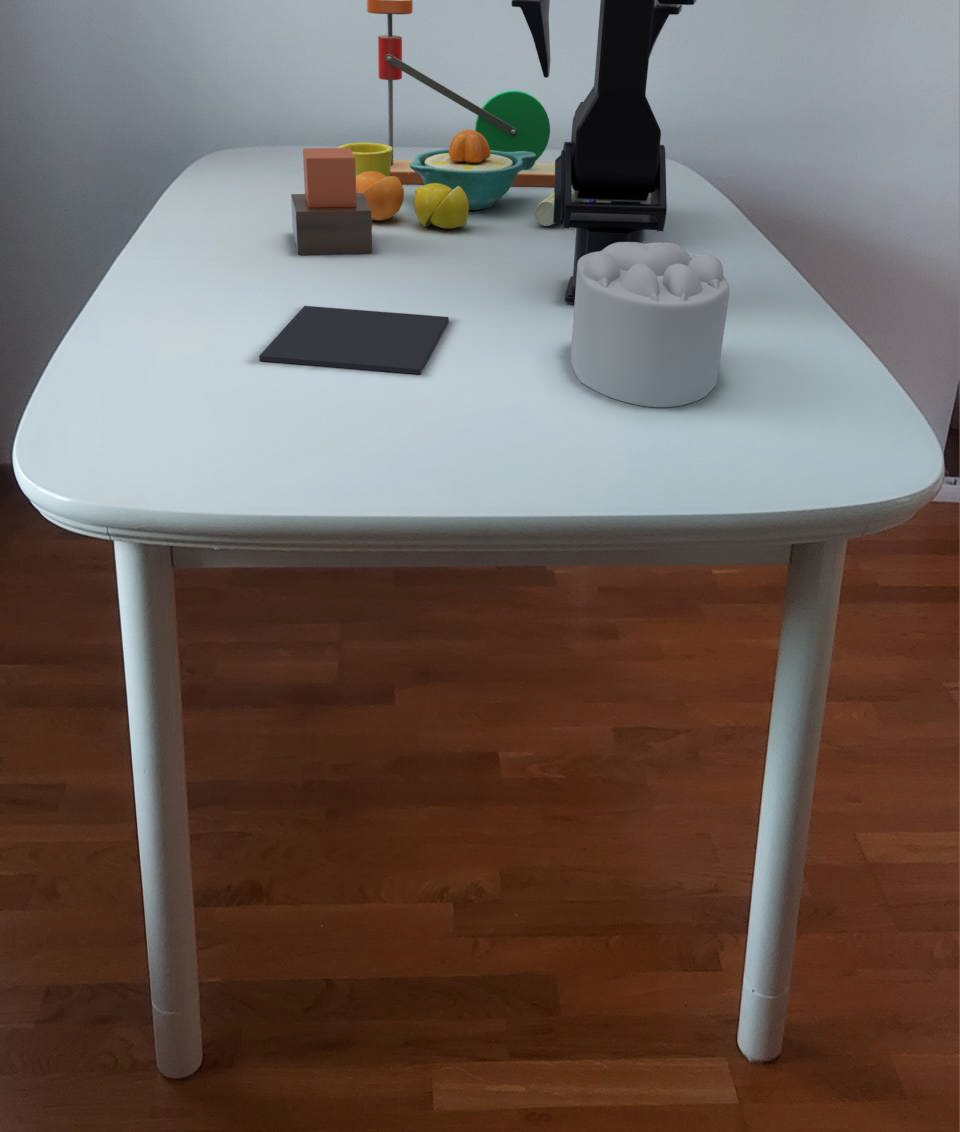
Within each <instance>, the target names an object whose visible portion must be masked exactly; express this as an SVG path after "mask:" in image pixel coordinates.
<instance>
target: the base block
mask: <svg viewBox="0 0 960 1132" xmlns="http://www.w3.org/2000/svg"><path fill="white" fill-rule="evenodd" d="M290 200H291V221H292V236H293V240H294V244H295V249H296V253H297V255H299V256H307V255H308V256H309V255H339V254H340V255H344V254H345V255H347V254H351V255H352V254H372V253H373V228H372V227H373V225H372V224H373V223H372V222H373V220H372V218H371V209H370V207H369V205H368V203H367V201H366V199H365V197H364V195H363V193H356V207H336V208H308V205H307V201H306V198H305V193H291V194H290Z"/></svg>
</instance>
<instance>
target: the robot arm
mask: <svg viewBox="0 0 960 1132" xmlns="http://www.w3.org/2000/svg"><path fill="white" fill-rule="evenodd" d="M550 1H551V0H511V7H514V8H520V10H521V12H522V14H523V17H524V19H525V21H526V24H527V27H528V29H529V31H530V34H531V37H532V39H533V43H534V47H535V51H536V55H537V58H538V61H539V65H540V68H541V72H542V76H543V78H549V76H550V72H551V71H550V70H551V42H550V41H551V39H550V3H551V2H550ZM696 3H697V0H600V4H599V17H598V30H597V41H596V42H597V43H596V55H595V56H596V57H595V69H594V79H593V80H594V81H593V82H594V83H593V87H592V88H591V90H590V91H589V93H588V94H587V96H586V97H585V98H584V100H583V101H581V102H579V104H578V106H577V107H576V110H575V112H574V115H573V117H572V123H571V124H572V125H571V135H570V136H571V137H570V141H564V142H563V146H562V150H561V151H560V152H561V153H560V155H559V156H558V157H557V158H555V160H554V163H555V187H554V189H553V190H554V191H553V192H554V215H553V222H554V224H557V225H560V226H562V228H563V229H566V230H567V229H568V230H569V229H572V228H573V229H575V241H574V255H573V256H574V257H573V267H572V268H573V271H572V275H571V276H570V277H569V281H568V283H567V287H566V290H565V294H564V302H565V303H570V304H575V291H576V277H577V264H578V260H579V259H580V258H581V257H582V256H584V255H587V254H589V253H593V252H598V251H602V250H603V249H604V248H606V247H607V246H609V245H611V244H613V243H617V242H638V243H644V234H645V231H656V232H664V230H665V223H666V219H667V211H668V205H667V204H668V202H667V201H668V199H667V164H666V163H667V161H666V159H667V158H666V148H665V145H664V144H661V138H662V131H661V127H660V125H659V123H658V121H657V118H656V116H655V114H654V112H653V110H652V107H651V105H650V103H649V100H648V98H647V95H646V94H647V93H646V92H647V85H648V84H647V83H648V82H647V81H648V72H649V62H650V58H651V55H652V52H653V50H654V47H655V45H656V42H657V39H658V38H659V36H660V34H661V32H662V29H663V28H664V27H665V24H666V22H667V20H668V19H669V16H670V15H671V16H674V15H675V16H676V15H677V16H678V15H680V13H681V12H682V11H683V6H694V5H695V4H696ZM572 188H573V189H574V191H575V199H576V200H575V201H574V202H572ZM649 193H651V204H635V203H602V202H588V201H589V200H596V201H629V202H646V200H647V198H648V195H649Z"/></svg>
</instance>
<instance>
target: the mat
mask: <svg viewBox="0 0 960 1132" xmlns="http://www.w3.org/2000/svg"><path fill="white" fill-rule="evenodd" d="M449 318H450V316H443V315H442V316H441V315H429V314H418V313H417V314H415V313H404V312H403V313H402V312H390V311H389V312H388V311H380V310H379V311H377V310H365V309H352V308H340V307H327V306H313V305H304V306H302V308H300V310H299V311H298V312H297V313H296V315H294V316H293V318H292V319H291V320H290V321H289V322H288V323H287V325H285V326H284V328H283V329H281V331H280V332H279V333H278V334H277V335H276V336H275V338H274V339H273V340H272V341H271V342H270V343H269V344H268V345H267V346H266V348H265V349H264V350H263V351H262V352H261V353H260V354H259V355H258V360H259V361H260V362H269V363H270V362H271V363H283V364H294V365H307V366H317V367H331V368H343V369H354V370H364V371H365V370H366V371H377V372H378V371H379V372H389V373H400V374H401V373H402V374H414V375H421V373H422V372H423V369H424V368H425V366H426V364H427V362H428V360H429V359H430V357H431V356H432V353H433V352H434V349H435V347H436V345H437V344H438V342H439V340H440V338H441V336H442V334H443V332H444V331H445V329H446V327H447V325H448V324H449V321H450V319H449Z"/></svg>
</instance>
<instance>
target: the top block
mask: <svg viewBox="0 0 960 1132" xmlns="http://www.w3.org/2000/svg"><path fill="white" fill-rule="evenodd" d="M302 160H303V161H302V163H303V164H302V165H303V183H304V184H303V185H304V186H303V187H304V194H305V198H306V201H307V205H308V208H336V207H356V163H355V156H354V155H353V153H352V151H351V149H350V148H338V147H314V148H313V147H308V148H307V147H306V148H305V147H304V148H302Z"/></svg>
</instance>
